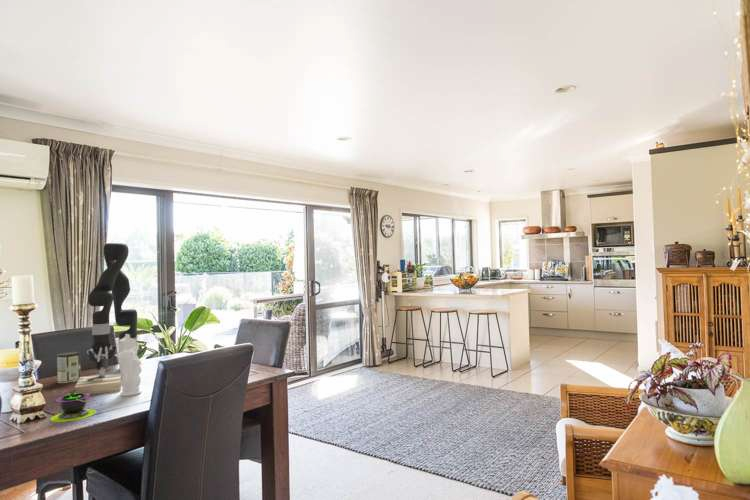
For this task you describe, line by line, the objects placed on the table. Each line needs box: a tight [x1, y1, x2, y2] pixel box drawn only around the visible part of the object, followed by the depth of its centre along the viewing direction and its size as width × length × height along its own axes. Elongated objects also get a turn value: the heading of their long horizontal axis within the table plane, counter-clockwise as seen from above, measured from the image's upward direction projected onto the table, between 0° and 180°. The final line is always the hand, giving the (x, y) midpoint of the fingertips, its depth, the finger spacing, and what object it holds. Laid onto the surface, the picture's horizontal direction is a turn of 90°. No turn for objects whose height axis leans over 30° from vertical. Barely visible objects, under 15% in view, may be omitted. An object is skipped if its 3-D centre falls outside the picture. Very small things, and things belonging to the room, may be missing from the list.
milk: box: [119, 334, 136, 378], centre depth 253 cm, size 6×6×22 cm
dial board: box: [74, 371, 122, 396], centre depth 230 cm, size 24×18×4 cm
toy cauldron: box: [50, 386, 97, 423], centre depth 187 cm, size 15×15×11 cm
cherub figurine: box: [114, 342, 142, 397], centre depth 218 cm, size 12×12×22 cm
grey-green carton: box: [56, 350, 82, 384], centre depth 247 cm, size 10×10×14 cm
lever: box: [87, 357, 110, 381], centre depth 230 cm, size 9×6×9 cm, turn 164°
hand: (101, 368), depth 233 cm, fingers closed on lever, 2 cm apart
